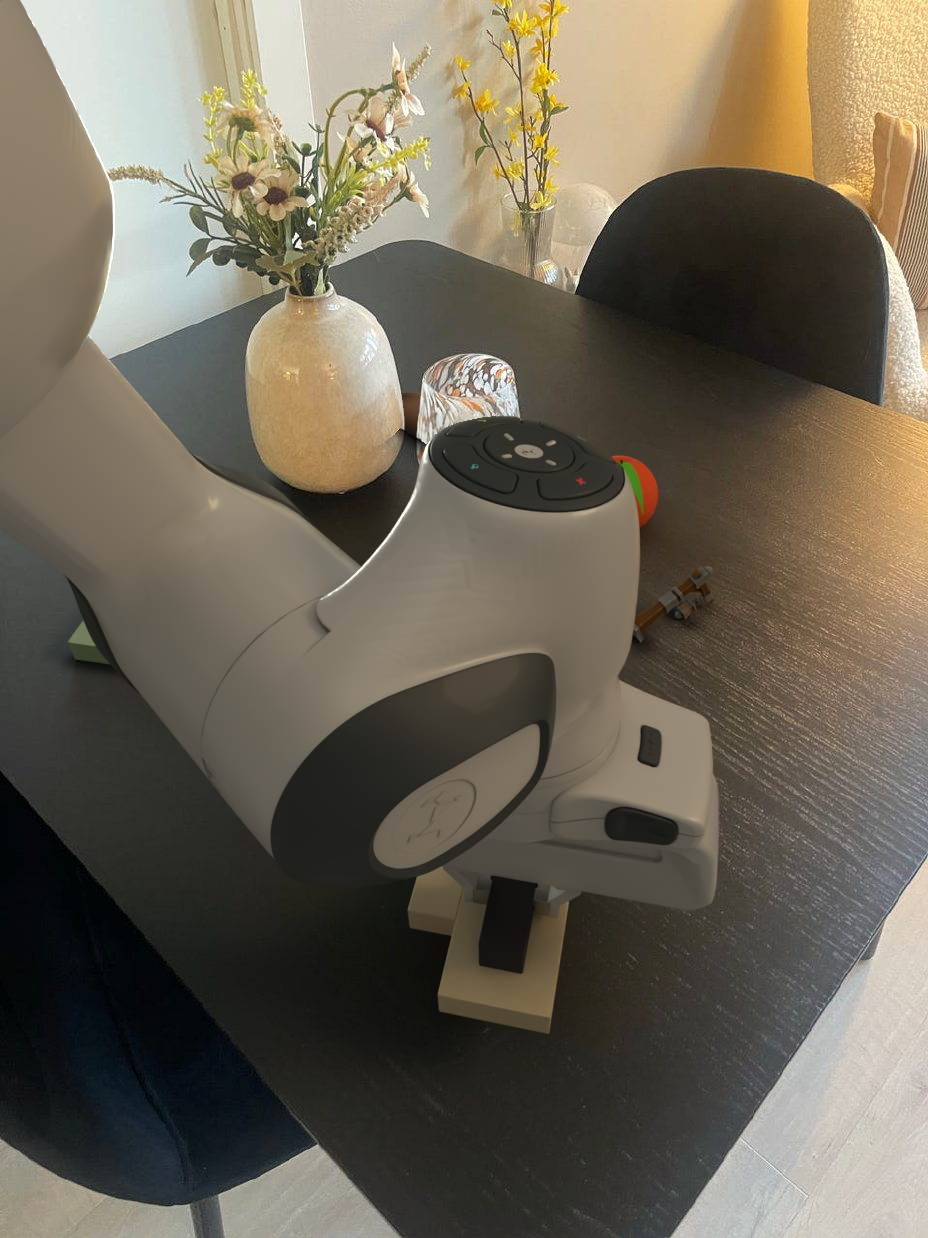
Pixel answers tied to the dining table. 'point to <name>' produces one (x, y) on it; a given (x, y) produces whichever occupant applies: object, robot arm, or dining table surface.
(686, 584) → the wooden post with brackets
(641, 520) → the clementine
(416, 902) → the cream pad
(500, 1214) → the dining table surface
